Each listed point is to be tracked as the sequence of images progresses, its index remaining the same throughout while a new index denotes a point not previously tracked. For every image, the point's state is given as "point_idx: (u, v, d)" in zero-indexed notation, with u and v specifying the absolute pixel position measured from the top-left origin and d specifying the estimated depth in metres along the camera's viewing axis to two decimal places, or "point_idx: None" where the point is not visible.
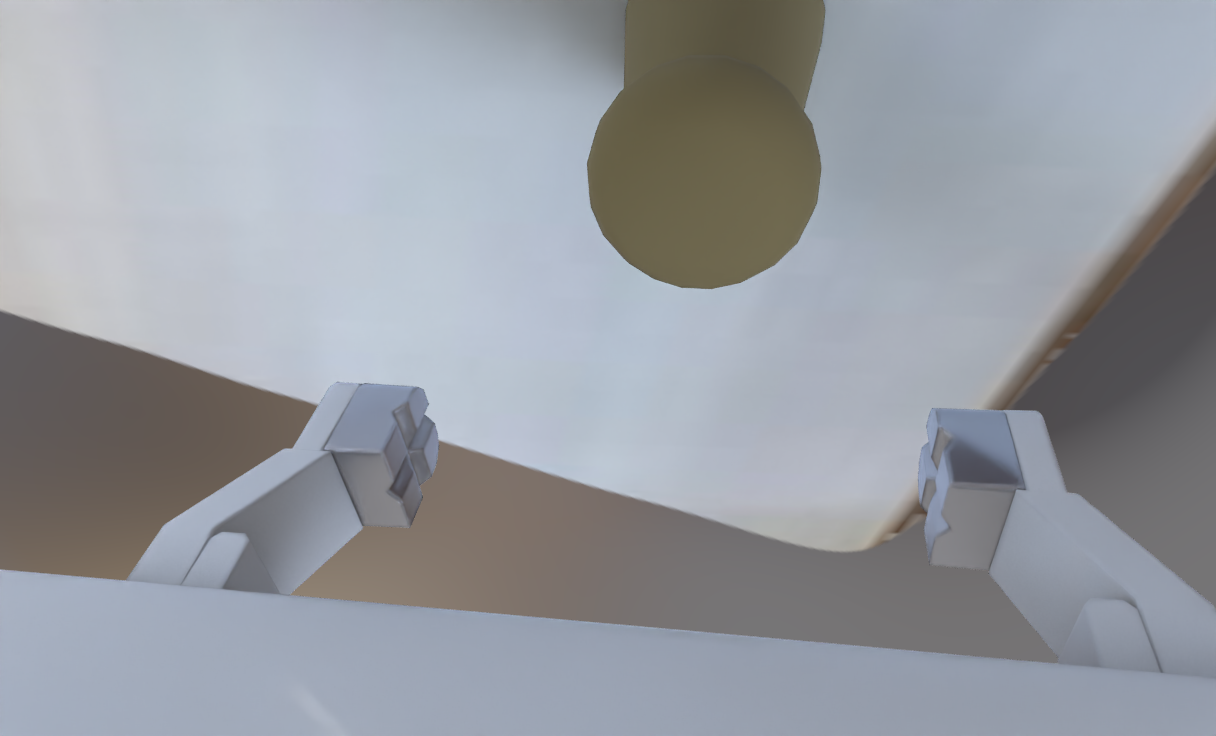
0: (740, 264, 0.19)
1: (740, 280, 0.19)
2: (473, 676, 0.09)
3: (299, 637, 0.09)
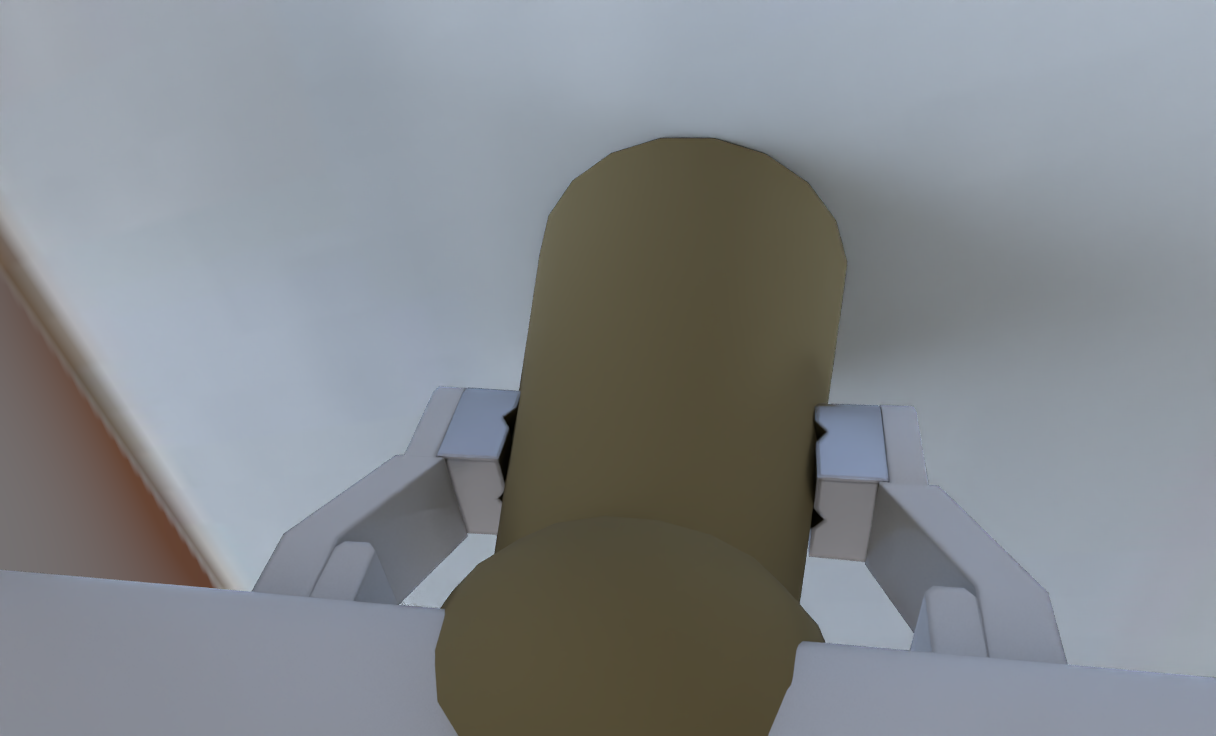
0: None
1: None
2: None
3: (299, 637, 0.09)
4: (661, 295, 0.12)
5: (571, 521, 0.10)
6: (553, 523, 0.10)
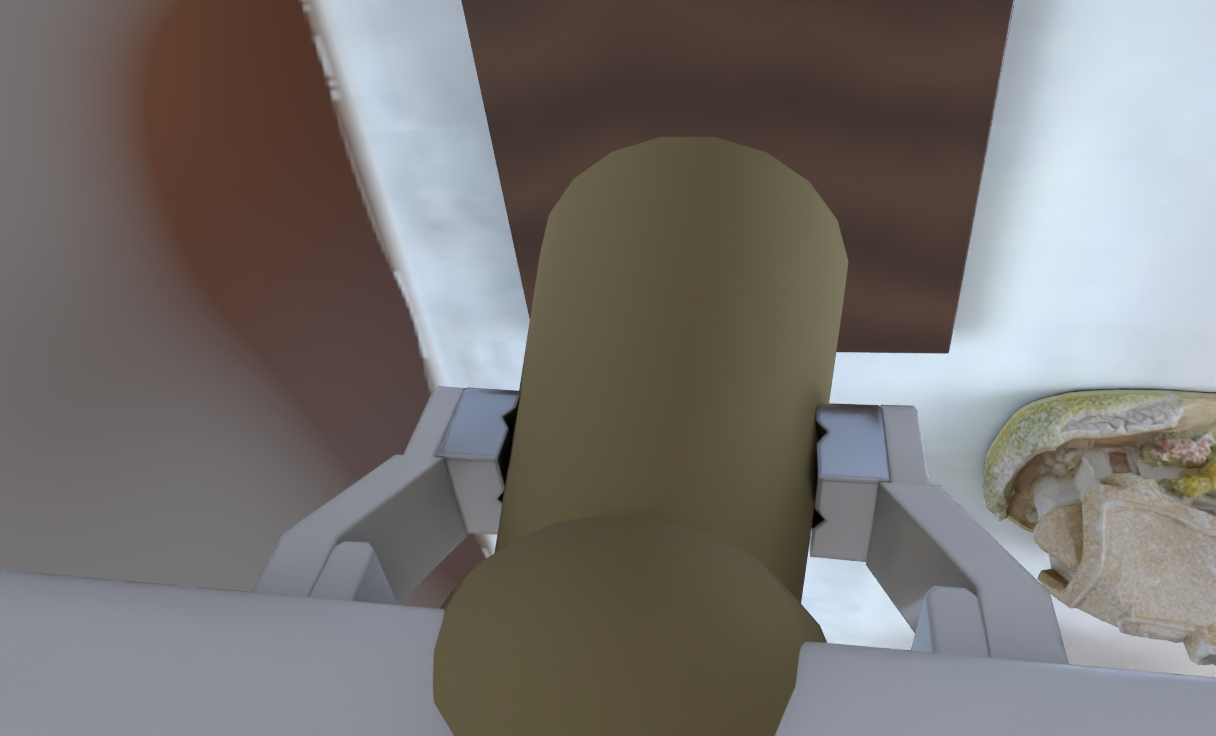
0: None
1: None
2: None
3: (299, 637, 0.09)
4: (662, 293, 0.12)
5: (572, 521, 0.10)
6: (554, 522, 0.10)
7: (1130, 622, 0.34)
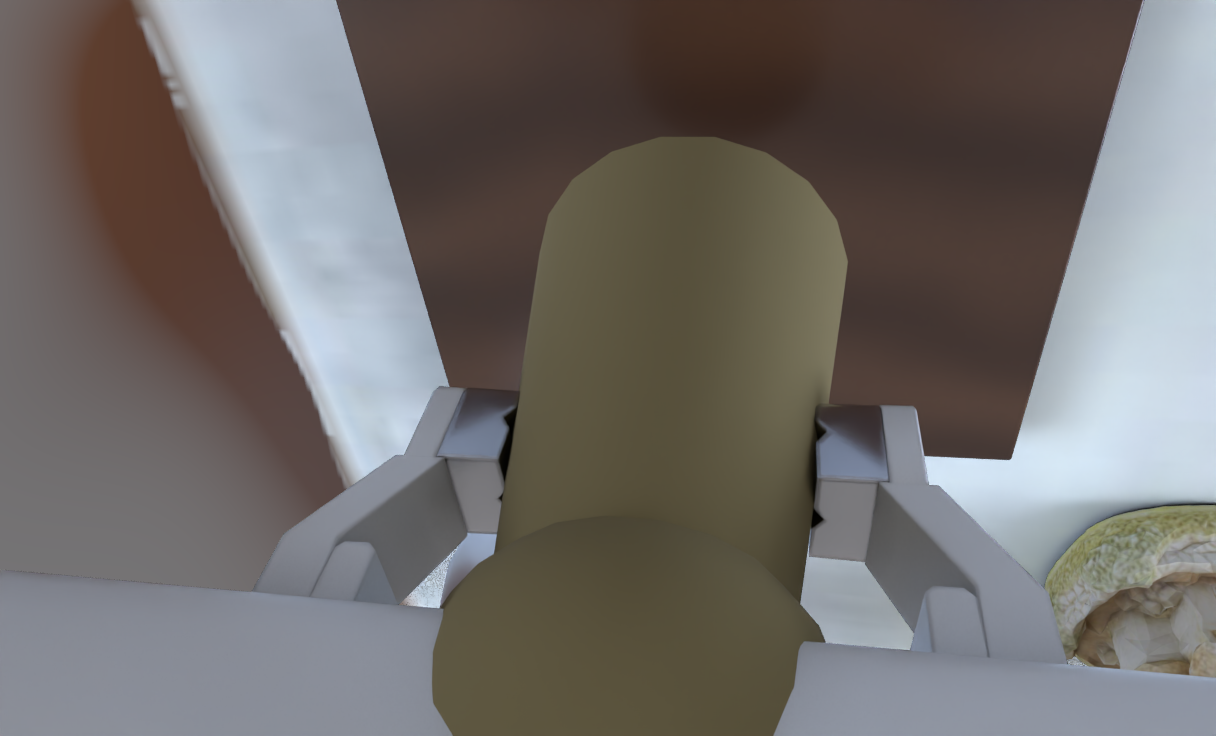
0: None
1: None
2: None
3: (299, 636, 0.09)
4: (661, 294, 0.12)
5: (570, 522, 0.10)
6: (553, 523, 0.10)
7: None
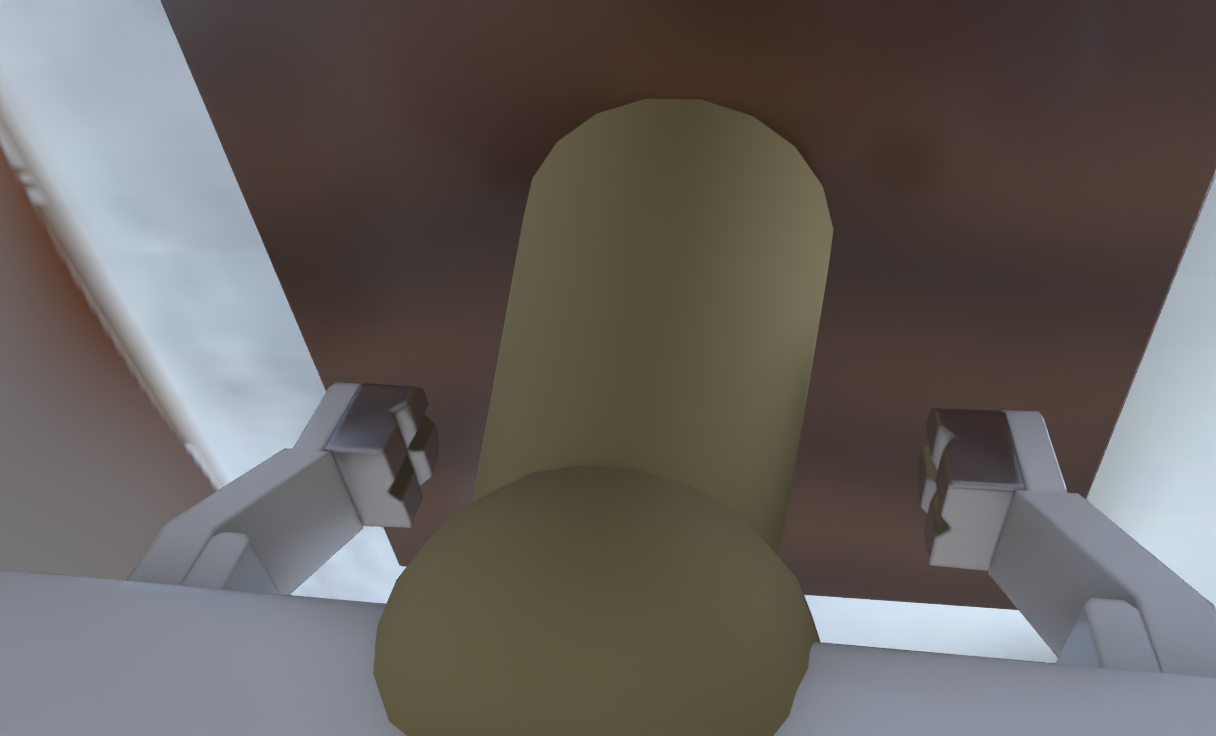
0: None
1: (411, 717, 0.08)
2: None
3: (299, 636, 0.09)
4: (644, 250, 0.12)
5: (547, 471, 0.10)
6: (529, 473, 0.10)
7: None
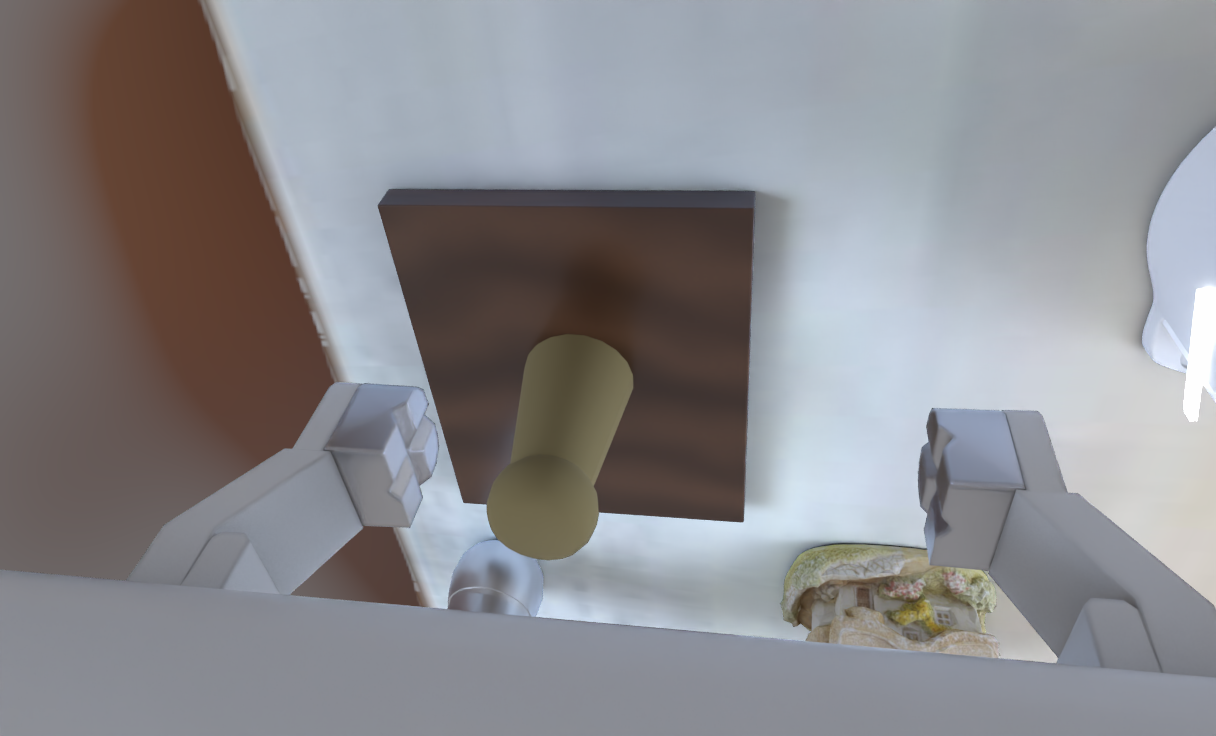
0: (505, 520, 0.38)
1: (500, 507, 0.38)
2: (473, 676, 0.09)
3: (299, 636, 0.09)
4: (560, 393, 0.42)
5: (531, 455, 0.40)
6: (526, 456, 0.40)
7: None
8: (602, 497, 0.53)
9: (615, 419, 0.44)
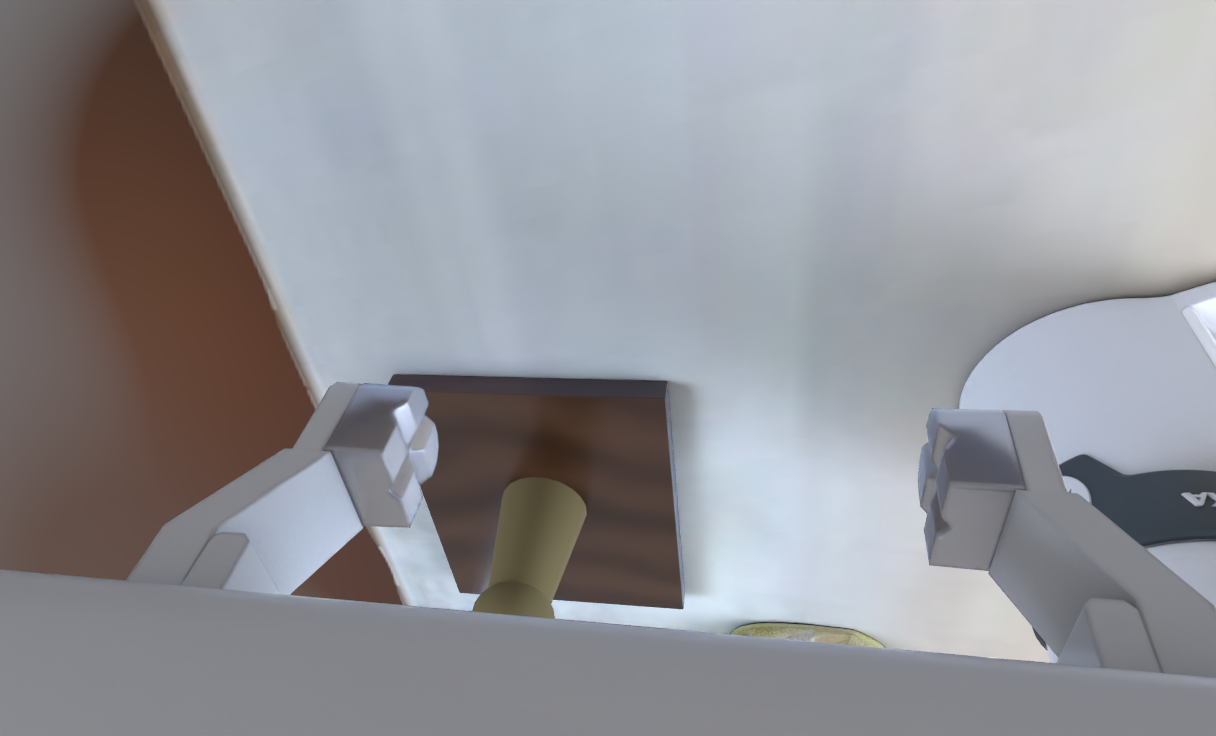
0: None
1: None
2: (473, 676, 0.09)
3: (299, 636, 0.09)
4: (526, 528, 0.55)
5: (503, 582, 0.53)
6: (499, 582, 0.53)
7: None
8: (569, 589, 0.66)
9: (570, 545, 0.57)
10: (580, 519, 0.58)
